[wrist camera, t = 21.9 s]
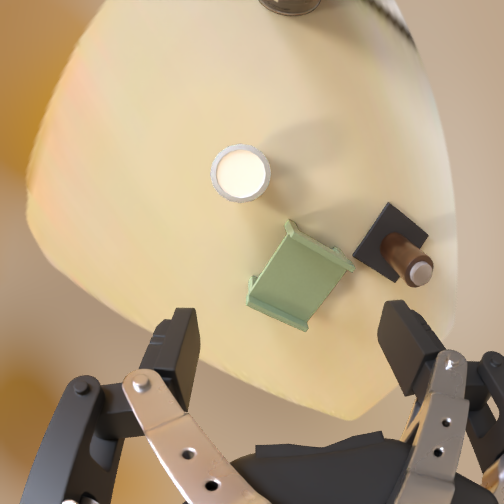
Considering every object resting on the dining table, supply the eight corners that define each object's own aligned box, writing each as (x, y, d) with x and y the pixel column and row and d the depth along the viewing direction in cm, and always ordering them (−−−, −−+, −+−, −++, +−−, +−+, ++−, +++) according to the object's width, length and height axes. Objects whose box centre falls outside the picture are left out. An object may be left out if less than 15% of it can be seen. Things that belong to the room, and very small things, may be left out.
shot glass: (278, 166, 38) (283, 173, 32) (243, 201, 40) (241, 215, 34) (241, 132, 36) (239, 131, 30) (207, 168, 38) (197, 175, 32)
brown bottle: (391, 226, 41) (423, 252, 31) (410, 241, 42) (442, 268, 32) (374, 251, 42) (401, 282, 33) (393, 264, 43) (422, 296, 34)
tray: (287, 216, 41) (294, 232, 35) (342, 249, 43) (355, 268, 37) (246, 281, 45) (245, 305, 39) (299, 307, 47) (305, 332, 41)
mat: (387, 202, 40) (389, 203, 39) (427, 234, 42) (428, 235, 41) (352, 255, 43) (353, 256, 43) (393, 281, 45) (395, 283, 45)
